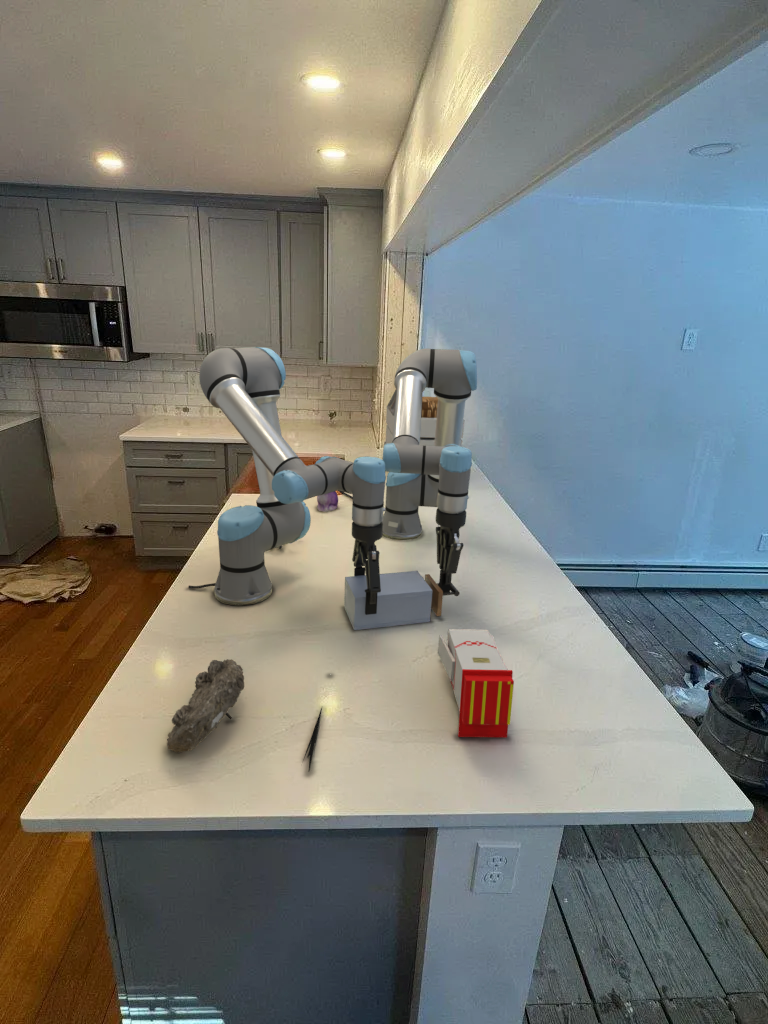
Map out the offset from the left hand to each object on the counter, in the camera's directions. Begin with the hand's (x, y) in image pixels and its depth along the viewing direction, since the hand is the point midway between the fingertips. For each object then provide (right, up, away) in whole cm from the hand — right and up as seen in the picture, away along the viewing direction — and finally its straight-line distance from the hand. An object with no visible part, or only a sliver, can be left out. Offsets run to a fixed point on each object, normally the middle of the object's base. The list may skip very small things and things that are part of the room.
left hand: (364, 601), depth 144 cm
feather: (-7, -17, -35) cm, 40 cm away
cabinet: (+5, -4, +3) cm, 7 cm away
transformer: (+22, +42, +131) cm, 139 cm away
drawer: (+12, -3, +5) cm, 13 cm away
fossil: (-28, -16, -36) cm, 48 cm away
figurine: (-17, +24, +78) cm, 83 cm away
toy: (+23, -15, -25) cm, 37 cm away
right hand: (+21, +1, +6) cm, 22 cm away
